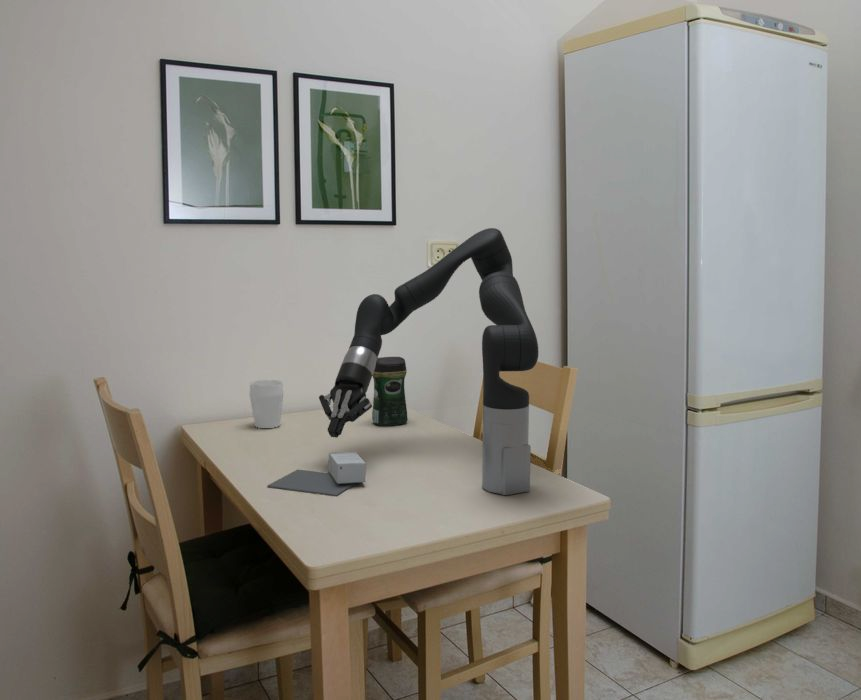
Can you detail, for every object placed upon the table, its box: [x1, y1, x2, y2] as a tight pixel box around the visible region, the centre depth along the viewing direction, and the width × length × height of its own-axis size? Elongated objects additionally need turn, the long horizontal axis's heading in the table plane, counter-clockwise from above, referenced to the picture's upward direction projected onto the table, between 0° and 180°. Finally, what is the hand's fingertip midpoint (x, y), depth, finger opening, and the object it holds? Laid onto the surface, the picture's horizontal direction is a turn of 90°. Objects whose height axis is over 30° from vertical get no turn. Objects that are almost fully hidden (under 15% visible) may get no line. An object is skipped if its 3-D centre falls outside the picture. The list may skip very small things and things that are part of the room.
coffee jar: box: [371, 356, 409, 427], centre depth 208 cm, size 10×8×19 cm
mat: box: [266, 469, 359, 497], centre depth 157 cm, size 12×16×1 cm
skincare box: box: [328, 451, 367, 484], centre depth 159 cm, size 6×4×12 cm
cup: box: [249, 379, 285, 429], centre depth 205 cm, size 9×9×12 cm
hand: (332, 435), depth 163 cm, fingers closed
